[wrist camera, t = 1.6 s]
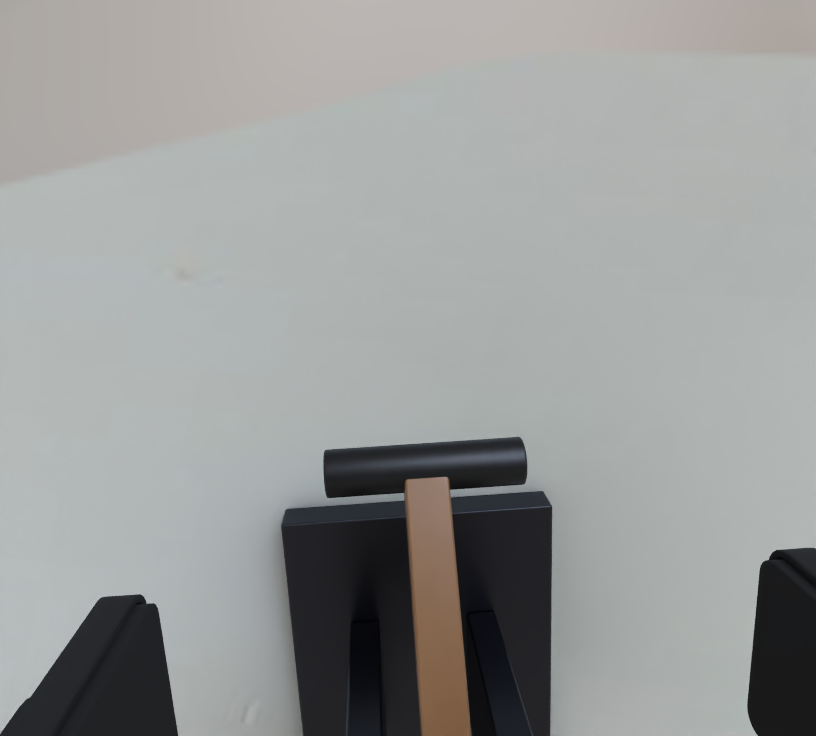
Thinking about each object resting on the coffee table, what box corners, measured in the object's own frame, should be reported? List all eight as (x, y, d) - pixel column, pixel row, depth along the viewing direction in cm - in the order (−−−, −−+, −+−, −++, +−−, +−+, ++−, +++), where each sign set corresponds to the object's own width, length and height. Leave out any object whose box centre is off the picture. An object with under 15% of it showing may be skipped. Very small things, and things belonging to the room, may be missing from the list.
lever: (328, 457, 18) (320, 442, 16) (511, 444, 18) (528, 428, 16) (352, 1048, 14) (345, 1143, 12) (577, 1024, 15) (612, 1112, 12)
